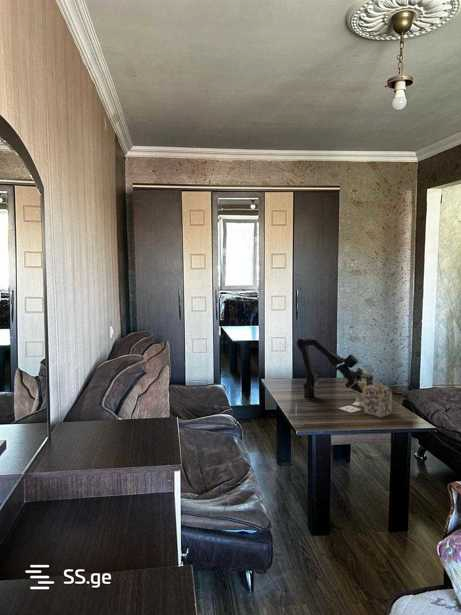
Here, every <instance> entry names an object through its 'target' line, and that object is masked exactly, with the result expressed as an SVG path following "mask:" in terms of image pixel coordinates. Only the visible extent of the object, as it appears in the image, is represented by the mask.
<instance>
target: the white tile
mask: <svg viewBox="0 0 461 615" xmlns="http://www.w3.org/2000/svg"><path fill="white" fill-rule="evenodd" d="M338 409H339V410H343V411H345V412H349V413H354V412H359V411H362V410H363V409H362V408H359V407H356V406H354V405H346V406H343V407H338Z"/></svg>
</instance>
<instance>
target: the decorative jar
mask: <svg viewBox="0 0 461 615" xmlns="http://www.w3.org/2000/svg"><path fill="white" fill-rule="evenodd" d="M392 411H393V391H392V390H391V388H390V387H389V386H387V385H383V383H382V382H378V381H377V382H373V385H369V386H367V388H366V389H365V390H364V407H363V413H365V414H369V415H372V416H376V417H379V418H383V417H384V416H385V417H386V416H388V415H391V414H392Z"/></svg>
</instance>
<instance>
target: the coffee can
mask: <svg viewBox="0 0 461 615" xmlns="http://www.w3.org/2000/svg"><path fill="white" fill-rule="evenodd" d="M362 376H363V377H362V378H361V379H362V382H367V386H369V385H373V384H374V375H373V374H370V373H364V374H362Z"/></svg>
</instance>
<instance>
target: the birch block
mask: <svg viewBox="0 0 461 615" xmlns="http://www.w3.org/2000/svg"><path fill="white" fill-rule="evenodd" d="M358 386H359V387H360V389H361V390H362V392H363V393H360V392H358V391H356V390H355V402H360V403H364V390H365V389H366V388H367V382H361V381H358Z"/></svg>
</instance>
